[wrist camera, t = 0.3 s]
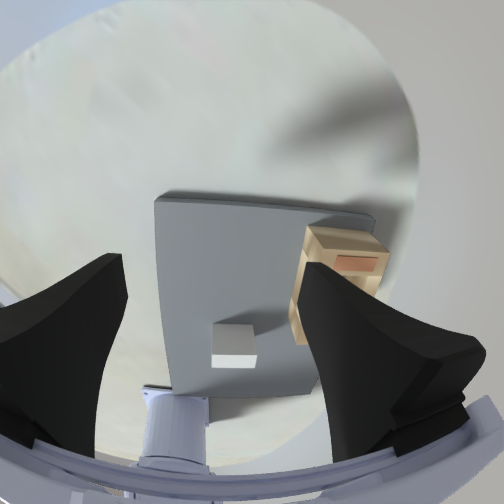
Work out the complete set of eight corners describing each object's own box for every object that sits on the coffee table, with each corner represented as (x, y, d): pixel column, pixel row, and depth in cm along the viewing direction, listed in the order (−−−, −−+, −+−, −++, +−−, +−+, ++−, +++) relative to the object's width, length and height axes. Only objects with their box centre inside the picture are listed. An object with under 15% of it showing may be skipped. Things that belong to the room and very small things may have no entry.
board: (308, 387, 30) (316, 417, 26) (174, 388, 28) (171, 420, 24) (369, 215, 20) (399, 239, 16) (157, 197, 18) (139, 220, 14)
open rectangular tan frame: (340, 313, 23) (355, 342, 20) (287, 314, 23) (296, 345, 19) (367, 231, 20) (391, 253, 16) (307, 225, 19) (324, 249, 16)
